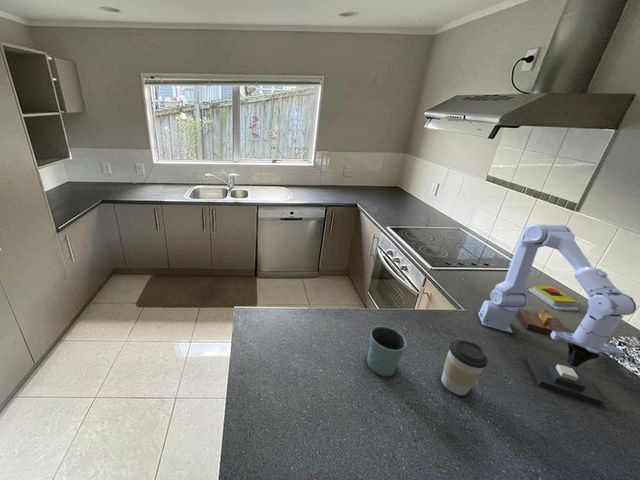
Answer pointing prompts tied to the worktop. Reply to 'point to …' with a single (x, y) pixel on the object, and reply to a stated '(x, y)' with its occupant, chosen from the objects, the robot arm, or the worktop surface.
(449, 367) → the coffee cup
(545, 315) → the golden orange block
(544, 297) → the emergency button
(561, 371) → the white square block
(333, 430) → the worktop surface
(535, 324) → the brown flat block
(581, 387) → the dark grey base plate
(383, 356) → the teal cup
